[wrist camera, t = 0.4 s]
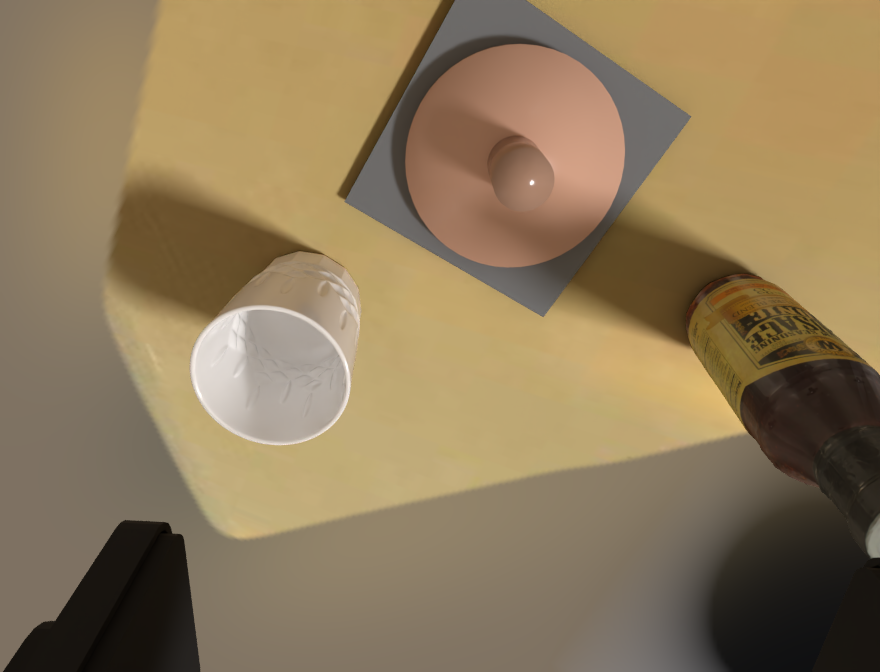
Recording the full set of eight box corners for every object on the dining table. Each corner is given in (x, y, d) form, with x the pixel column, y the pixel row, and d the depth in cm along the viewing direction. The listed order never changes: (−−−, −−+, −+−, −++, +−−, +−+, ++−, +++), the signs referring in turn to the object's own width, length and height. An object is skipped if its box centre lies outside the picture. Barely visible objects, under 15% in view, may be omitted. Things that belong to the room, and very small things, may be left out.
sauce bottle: (793, 273, 40) (1072, 473, 22) (761, 362, 43) (988, 605, 25) (688, 262, 40) (885, 456, 22) (663, 353, 43) (821, 592, 25)
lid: (480, -5, 33) (487, -10, 29) (665, 122, 36) (699, 138, 31) (368, 196, 38) (356, 221, 33) (539, 296, 40) (552, 334, 36)
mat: (474, -35, 33) (474, -36, 33) (687, 115, 36) (691, 116, 36) (345, 199, 39) (344, 201, 38) (542, 313, 42) (543, 317, 41)
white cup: (223, 315, 42) (162, 396, 33) (283, 216, 39) (234, 274, 30) (330, 377, 44) (300, 470, 35) (395, 286, 41) (380, 361, 32)
